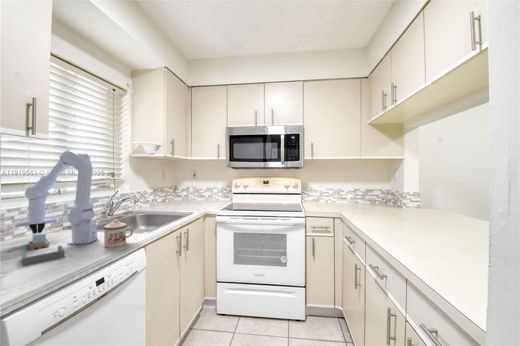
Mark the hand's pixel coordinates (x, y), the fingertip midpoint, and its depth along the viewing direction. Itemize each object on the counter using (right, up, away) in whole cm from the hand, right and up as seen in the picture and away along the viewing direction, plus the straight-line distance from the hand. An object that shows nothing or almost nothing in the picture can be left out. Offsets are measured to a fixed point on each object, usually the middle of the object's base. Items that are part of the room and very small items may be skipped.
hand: (37, 239), depth 110 cm
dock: (+22, -1, -20) cm, 29 cm away
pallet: (+7, -1, -6) cm, 9 cm away
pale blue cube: (+7, +1, -7) cm, 10 cm away
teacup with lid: (+41, -2, -3) cm, 41 cm away
